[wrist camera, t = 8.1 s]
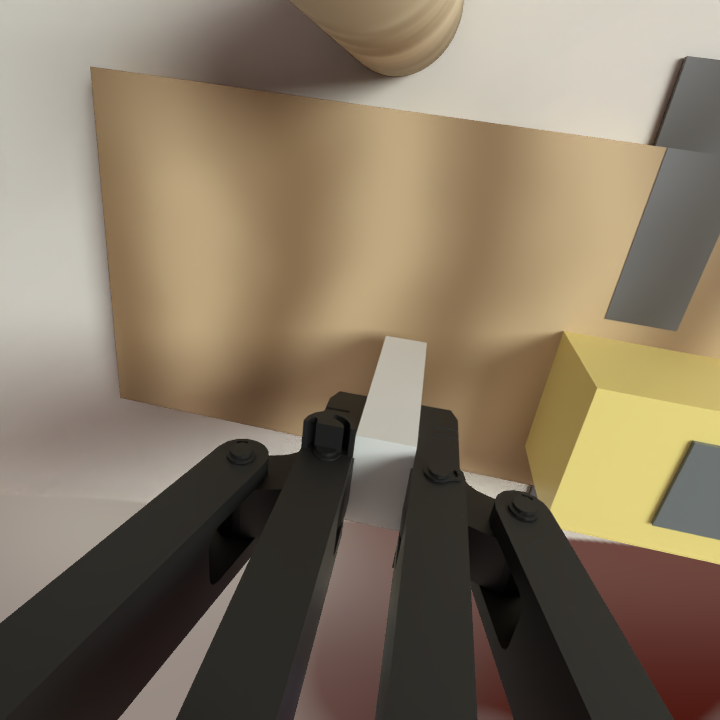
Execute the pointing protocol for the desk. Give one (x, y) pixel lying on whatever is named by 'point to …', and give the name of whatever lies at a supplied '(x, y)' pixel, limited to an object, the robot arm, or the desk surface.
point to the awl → (388, 30)
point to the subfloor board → (393, 250)
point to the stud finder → (631, 445)
